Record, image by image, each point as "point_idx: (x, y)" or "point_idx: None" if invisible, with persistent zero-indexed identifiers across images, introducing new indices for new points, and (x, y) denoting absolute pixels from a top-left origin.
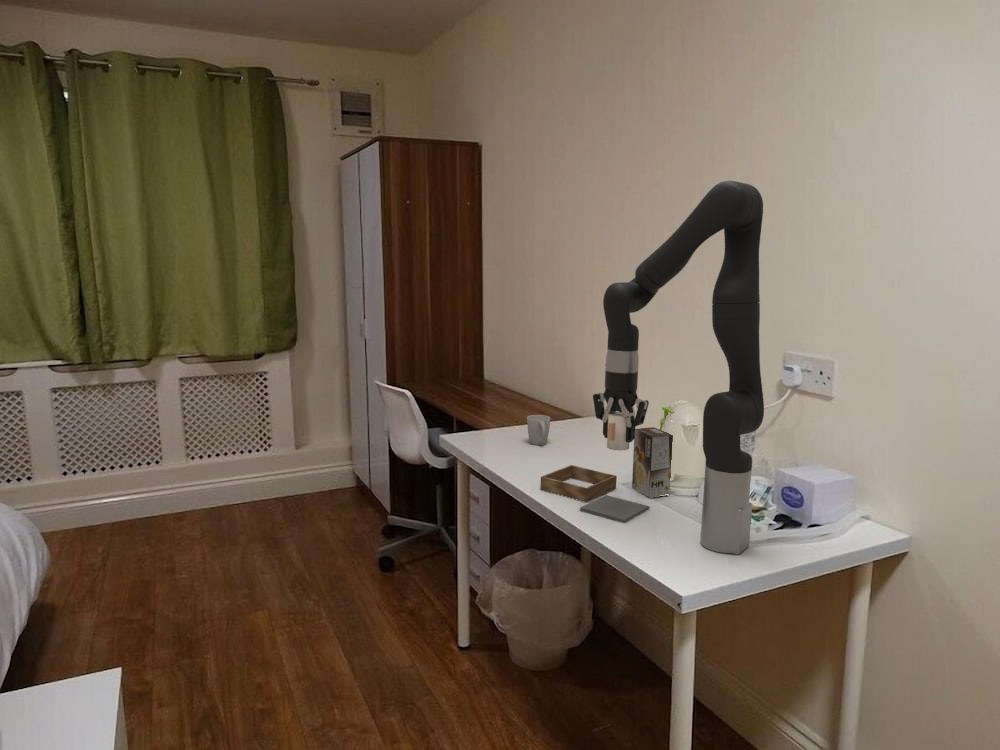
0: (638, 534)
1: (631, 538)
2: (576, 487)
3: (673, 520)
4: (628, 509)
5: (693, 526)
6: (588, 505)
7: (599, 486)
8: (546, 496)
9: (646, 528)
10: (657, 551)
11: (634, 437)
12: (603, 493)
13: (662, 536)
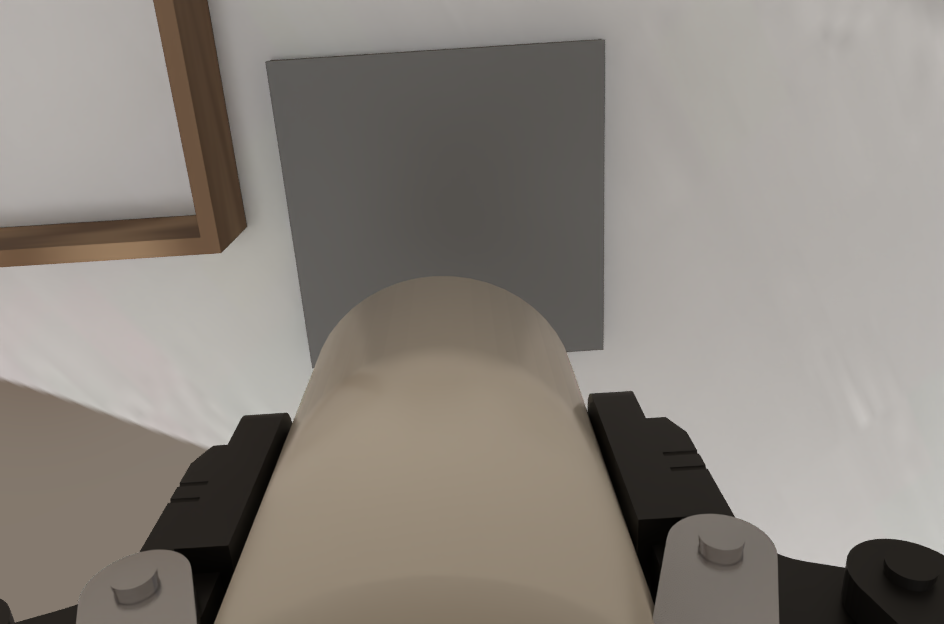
0: (727, 410)
1: (721, 468)
2: (135, 255)
3: (803, 103)
4: (534, 197)
5: (936, 104)
6: (321, 310)
7: (196, 79)
8: (13, 314)
9: (725, 319)
10: (877, 503)
11: (687, 444)
12: (207, 11)
13: (835, 351)
